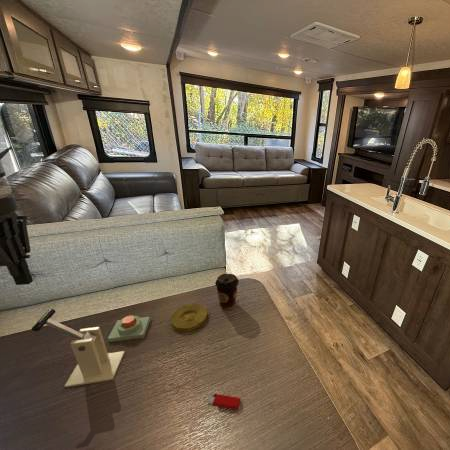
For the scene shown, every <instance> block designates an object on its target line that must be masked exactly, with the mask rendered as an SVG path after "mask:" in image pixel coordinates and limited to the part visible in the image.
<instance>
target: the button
mask: <svg viewBox="0 0 450 450" xmlns="http://www.w3.org/2000/svg"><path fill="white" fill-rule="evenodd" d="M134 316H135V315H131V314H129V315H126V316H125V317H123V318H122V319H121V320H122V325H123V327H124V328H129V327H131V326H133V325H134V324H135V317H134Z"/></svg>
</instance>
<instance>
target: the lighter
mask: <svg viewBox="0 0 450 450" xmlns="http://www.w3.org/2000/svg"><path fill="white" fill-rule="evenodd" d="M241 399H242V398H241V397H236V396H232V395H231V396H230V395H224V394H218V393H214V394H213V395H211V396H209V399H208V401H207V405H209V406H215V407H217V408H223V409H230V410H236V411H238V410H239V406H240V403H241Z"/></svg>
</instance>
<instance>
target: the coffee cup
mask: <svg viewBox="0 0 450 450" xmlns="http://www.w3.org/2000/svg"><path fill="white" fill-rule="evenodd" d="M239 283H240V281H239V278H238V276H237V275H236V274H233V273H222V274H220V275H219V276H218V277H217V279H216V280H215V283H214V285H215V287H216V291H217V292H216V293H217V297H218V301H219V307H220V308H221V309H223V310H231V309H233V308H234V307H236V304H237V302H236V300H237V293H238V285H239Z"/></svg>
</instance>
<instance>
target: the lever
mask: <svg viewBox="0 0 450 450" xmlns="http://www.w3.org/2000/svg"><path fill="white" fill-rule="evenodd" d="M55 314H56V310H55V309H54V308H49V309H48V310H47V311H46V312H45V313H44V314H43V315H42V316H41V317H40V318H39V319H38V320H37V322H36V323H35V324H34V325H32V327H31V330H32V331H33V332H40V331H41V330H42V329H43V328H44V326H45V325H46V326H48V327H51V328H52V329H55V330H57V331H59V332H61V333H63V334H65V335H68V336H70V337H72V338H74V339H75V340H83V339H93V342H94V341H95V339H96V338H97V336H95V335H93V334H91V333H89V332H87V333H85V334H82V333H79V331H77V330H76V329H73V328H71V327H68V326H67V325H64V324H62V323H60V322H59V321H56V320H54V319H52V317H53V316H54V315H55Z"/></svg>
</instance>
